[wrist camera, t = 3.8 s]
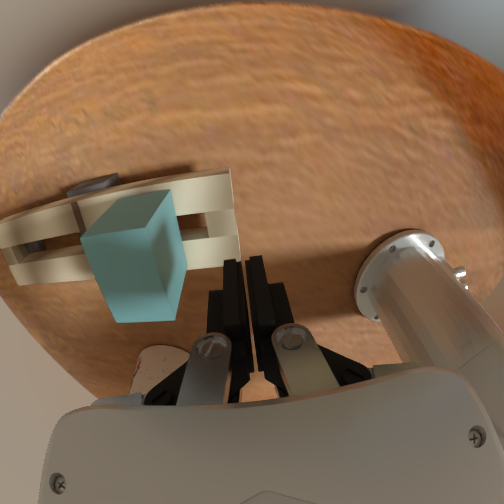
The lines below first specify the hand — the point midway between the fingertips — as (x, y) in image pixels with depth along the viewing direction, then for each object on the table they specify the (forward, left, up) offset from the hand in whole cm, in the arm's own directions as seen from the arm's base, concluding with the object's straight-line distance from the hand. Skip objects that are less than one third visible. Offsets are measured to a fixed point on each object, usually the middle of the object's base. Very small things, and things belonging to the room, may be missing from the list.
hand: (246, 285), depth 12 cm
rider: (+6, 0, -10) cm, 11 cm away
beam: (+12, 0, -13) cm, 18 cm away
